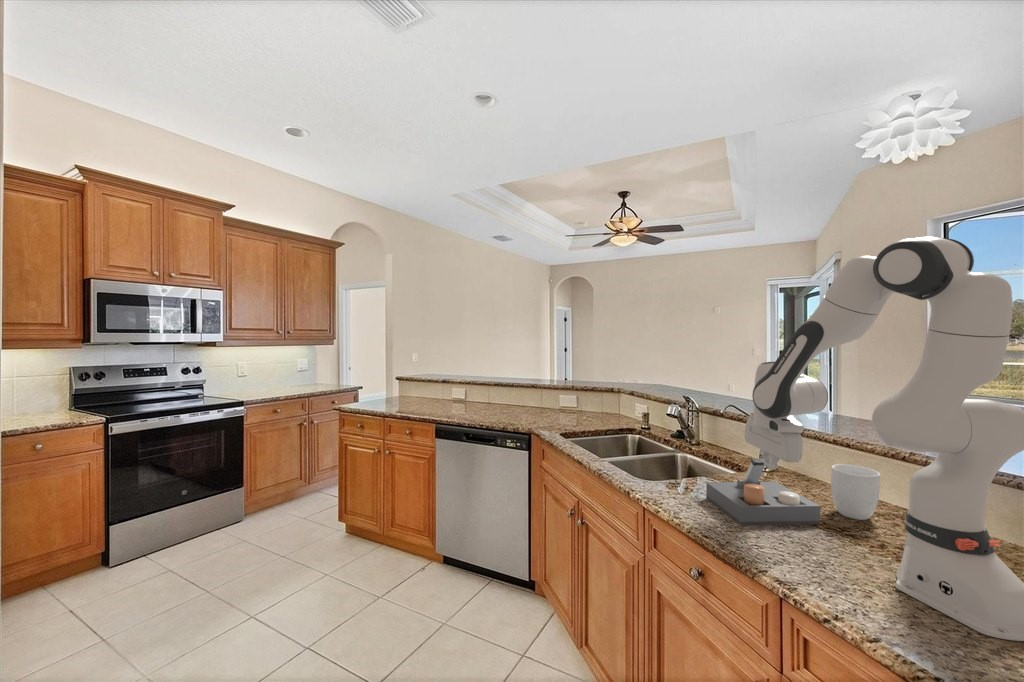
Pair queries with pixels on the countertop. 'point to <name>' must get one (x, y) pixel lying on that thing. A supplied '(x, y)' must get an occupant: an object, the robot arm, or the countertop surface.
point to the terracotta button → (754, 494)
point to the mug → (855, 490)
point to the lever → (754, 471)
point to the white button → (789, 498)
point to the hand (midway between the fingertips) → (769, 468)
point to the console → (770, 513)
